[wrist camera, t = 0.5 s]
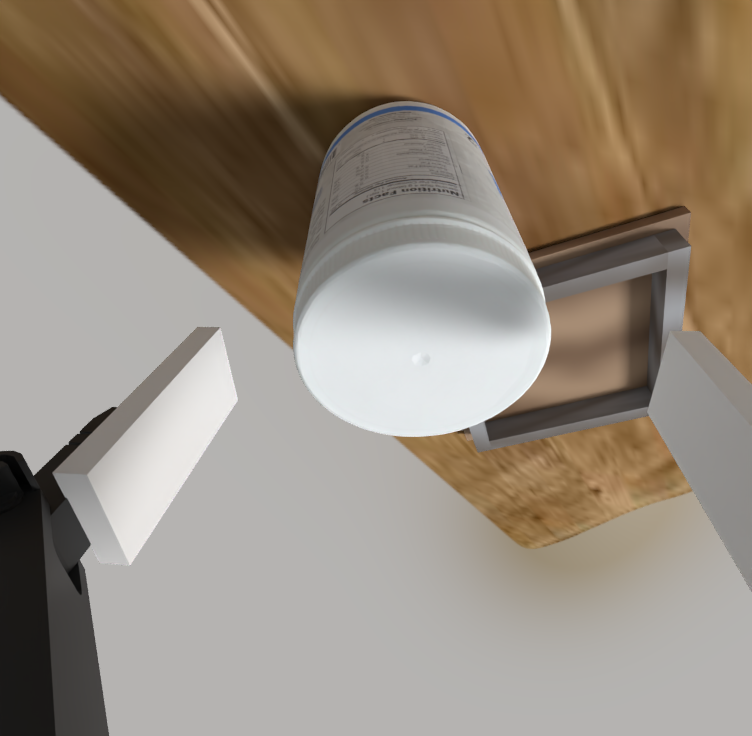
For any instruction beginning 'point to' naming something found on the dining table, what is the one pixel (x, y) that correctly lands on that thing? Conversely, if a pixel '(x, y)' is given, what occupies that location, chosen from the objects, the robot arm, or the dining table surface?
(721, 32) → the dining table surface
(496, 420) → the dock
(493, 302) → the supplement tub
